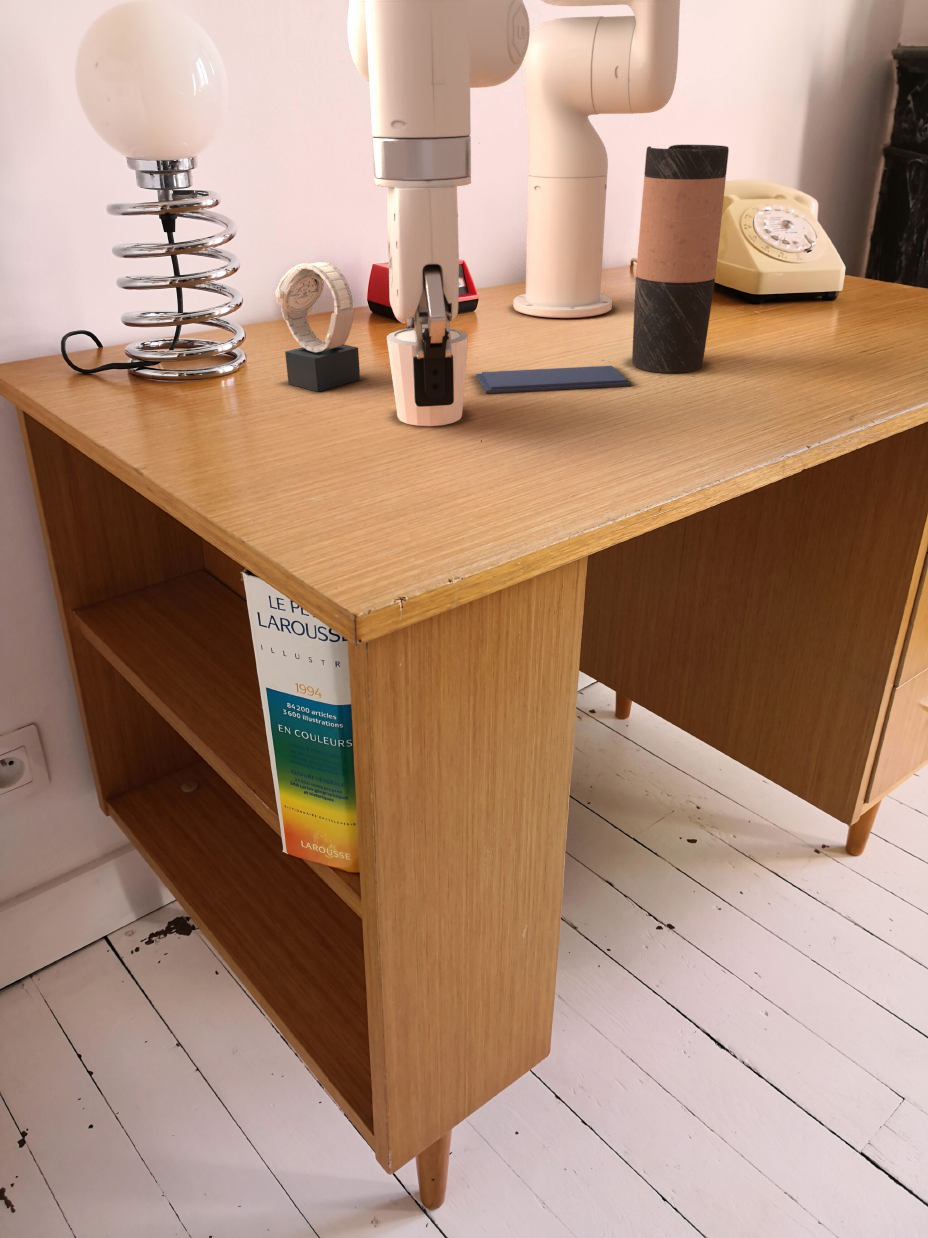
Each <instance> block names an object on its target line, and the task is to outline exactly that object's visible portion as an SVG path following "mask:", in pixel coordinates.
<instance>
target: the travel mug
mask: <svg viewBox="0 0 928 1238" xmlns="http://www.w3.org/2000/svg"><path fill="white" fill-rule="evenodd" d="M645 152H646V153H645V161H644V162H645V164H644V173H643V174H644V176H643V188H642V196H641V197H642V198H641V199H642V200H641V211H640V223H639V234H638V244H637V245H638V246H637V256H636V257H637V258H636V270H635V271H636V272H635V276H636V277H635V286H634V305H633V306H634V309H633V329H632V330H633V332H632V352H631V353H632V354H631V356H632V357H631V358H632V359H631V361H632V365H633V366H634V367H636V368H637V369H640V370H643V371H646V372H653V373H661V374H683V373H691V372H695V371H697V370H699V369H701V368H702V366H703V364H704V357H705V350H706V344H707V339H708V338H707V337H708V332H709V331H708V330H709V324H710V317H711V311H712V304H713V303H712V302H713V296H714V289H715V282H716V274H717V266H718V256H719V249H720V248H719V247H720V237H721V229H722V228H721V227H722V219H723V218H722V217H723V209H724V199H725V190H726V182H727V181H726V180H727V169H728V160H729V152H730V147H729V146H727V145H717V144H672V145H670V146H669V147H668V148H659V147H652V146H647V147H646V151H645Z"/></svg>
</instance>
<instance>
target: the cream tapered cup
mask: <svg viewBox="0 0 928 1238" xmlns="http://www.w3.org/2000/svg"><path fill="white" fill-rule="evenodd" d="M425 328H428V327H425ZM425 328H422V331H423V332H424V330H425ZM450 336H451V349H452V355H453V378H454V402H453V404H451V405H443V406H425V407H419V406H417V405H416V403H415V395H414V368H413V357H415V356H417V354H416V341H415V328H409V329H406V328H404V329H399V330H398V329H397V330H396V331H393V332H391V333H389V334H388V335H387V336H386V342H387V351H388V357H389V365H390V371H391V378H392V386H393V392H394V393H393V394H394V401H395V407H396V415H397V418H398V420H399V421H400V422H402V423H405V424H407V425H412V426H416V427H417V426H418V427H436V426H437V427H439V426H445V425H450V424H454V423H456V422H458V421H460V420H461V418H462V416H463V409H464V408H463V407H464V397H465V383H466V373H467V372H466V371H467V360H468V347H469V334H468V333H467V332H466V331H463V330H460V329H457V328H451V327H450Z"/></svg>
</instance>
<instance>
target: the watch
mask: <svg viewBox="0 0 928 1238" xmlns="http://www.w3.org/2000/svg"><path fill="white" fill-rule="evenodd" d="M324 281H325V282H324ZM325 284H326V285H327V287H328V288H329V290H330V292H331V293H330V294H331V296H332V298H333V312H332V313H331V316H330V321H329V326H328V330H327V333H326V335H325V338H324V341H322V340H321V339H320V338H318V337H317V335H316V334H315V332H314V331H313V329H312V327H311V325H310V322H308V321H309V320H308V317H309V316H310V315H311V313H312V310H313V307H314V305H315V304H316V303H317V301H318V300H319V298H320V297H321V295H322V293H323V290H324V287H325V286H324V285H325ZM351 291H352V290H351V288H350V285H349V283H348V280H347V279H346V276H344V274H343V272H342V271H341V270H340V269H339V268H338V267H337V266H336V265H334V264H333V263H330V262H328V261H318V262H313V263H308V262H303V263H299V264H296V265H295V266H293V267H291V268H290V269H289V270H288V271H287V272H286V273H285V274H284V275H283V276H282V277H281V278H280V280H279V283H278V284H277V287H276V290H275V292H274V295H275V300H276V302H277V304H278V305H279V309H280V312H281V316H282V319H283V320H284V321H285V322H286V325H287V327H288V330H289V332H290V333H291V335H292V336H293V339H294V340H295V341H296V342H297V343H298V344H299V346H300V347H298V348H295V349H291V350H290V349H289V350H285V352H284V353H285V363H286V375H287V383H288V385H291V386H295V387H299V388H303V389H306V390H310V391H314V392H316V393H318V392H321V391H325V390H329V389H332V388H335V387H339V386H342V385H347V384H350V383H354V382H356V381H361V371H360V355H359V354H360V353H359V347H358V346H357V347H356V346H352V345H349V344H346V343H347V340H348V338H349V336H350V333H351V331H352V326H353V322H354V318H355V317H354V316H355V309H354V299H353V295H352V292H351Z"/></svg>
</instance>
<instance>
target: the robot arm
mask: <svg viewBox="0 0 928 1238" xmlns="http://www.w3.org/2000/svg"><path fill="white" fill-rule="evenodd" d="M540 1H541V2H544V3H545V4H546V5H547V4H548V5H551V6H557V7H559V6H560V7H594V6H621V5H622V6H624V5H625V6H628V7H629V8H630V10H632V12H633V15H619V16H618V15H615V16H614V15H613V16H604V15H603V16H597V15H596V16H573V17H572V16H571V17H560V18H555V19H552V20H547V21H545V22H543V23H541V24H538V26H536V27H534V29H532V30H531V29H530V20H529V19H530V18H529V13H528V11H527V8H526V6H525V3H524V1H523V0H349V3H348V14H347V39H348V46H349V47H348V48H349V53H350V55H351V60H352V61H353V64H354V66H355V68H356V70H357V71H358V73H359V74H360V75H361V77H363V78H364V79H365V80H366V81H367V82H369V99H370V118H371V119H370V120H371V137H372V138H371V139H372V141H371V142H372V143H371V145H372V160H373V163H372V164H373V178H374V185H375V186H376V187H381V188H387V201H386V202H387V205H386V207H387V208H386V210H387V211H386V212H387V213H386V214H387V215H386V218H387V220H386V221H387V222H386V223H387V224H386V225H387V253H388V281H389V282H388V284H389V289H388V290H389V291H388V292H389V304H390V307H391V309H392V312H393V315H394V318H396V320H397V321H398V322H400V323H401V324H405V329H409V328H415V341H416V354H417V356H415V357H413V368H414V395H415V403H416V405H417V406H419V407H425V406H443V405H451V404H453V402H454V378H453V355H452V349H451V336H450V328H451V324H450V323H451V322H452V321H453V320H455V318H456V317H457V316H458V313H459V299H460V297H459V296H460V295H459V291H460V290H459V289H460V279H459V278H460V266H459V265H460V253H459V252H460V251H459V250H460V249H459V213H458V212H459V211H458V208H459V207H458V187H462V186H469V185H470V184H472V136H471V130H472V129H471V89H478V88H491V87H497V86H500V85H501V84H503V83H505V82H507V81H510V79H511V78H512V77H514V76H515V74H517V72H518V71H519V70H520V67H521V73H522V82H523V89H524V98H525V107H526V118H527V137H528V139H527V140H528V142H527V144H528V145H527V146H528V147H527V148H528V150H527V152H528V153H527V155H528V157H527V158H528V160H527V162H528V164H527V201H526V202H527V205H526V206H527V208H526V210H527V211H526V249H525V250H526V255H525V256H526V259H525V261H526V262H525V264H526V265H525V293H523V294H520V295H517V296H515V297H514V298H513V302H512V303H513V304H512V305H513V309H514V311H516V312H518V313H521V314H523V315H528V316H534V317H540V318H556V319H558V318H559V319H572V318H587V317H595V316H599V315H603V314H607V313H609V312H610V311H611V310H612V308H613V299H612V297H610V296H607V295H605V294H602V291H601V290H602V275H603V258H604V257H603V255H604V238H605V222H606V203H607V187H608V186H607V185H608V171H609V170H608V169H609V158H608V153H607V152H608V151H607V148H606V146H605V144H604V142H603V140H602V138H601V137H600V135H599V133H598V132H597V130H596V128H595V127H594V125H593V124H592V122H591V121H590V119H589V116H595V115H604V114H605V115H617V114H619V115H625V114H627V115H629V114H631V115H632V114H633V115H634V114H649V113H654V112H657V111H660V110H662V109H663V108H664V107H666V106H667V105H668V103H669V102H670V101H671V98H672V97H673V93H674V90H675V85H676V81H677V75H678V74H677V72H678V62H679V61H678V60H679V59H678V58H679V40H680V39H679V36H680V13H681V12H680V11H681V0H540ZM530 30H531V31H530ZM425 327H428V328H425ZM422 328H425V330H424V332H423V331H422Z"/></svg>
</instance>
